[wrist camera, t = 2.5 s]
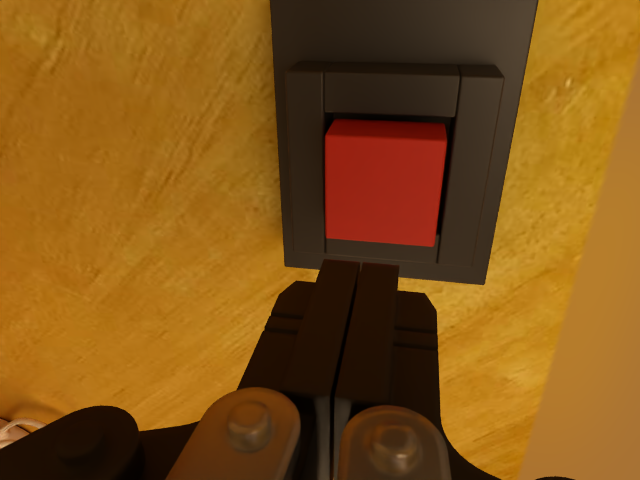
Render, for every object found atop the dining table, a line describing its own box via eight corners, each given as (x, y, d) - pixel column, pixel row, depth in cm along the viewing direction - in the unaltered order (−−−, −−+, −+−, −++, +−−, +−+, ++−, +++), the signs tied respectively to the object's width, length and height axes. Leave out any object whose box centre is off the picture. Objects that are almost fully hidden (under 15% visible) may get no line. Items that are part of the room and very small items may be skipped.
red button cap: (334, 117, 15) (324, 134, 14) (445, 122, 15) (447, 140, 13) (333, 214, 17) (325, 239, 15) (433, 222, 16) (434, 248, 15)
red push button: (286, -7, 17) (251, 1, 14) (525, -7, 16) (553, 1, 12) (296, 241, 22) (272, 292, 19) (479, 256, 21) (490, 314, 17)
